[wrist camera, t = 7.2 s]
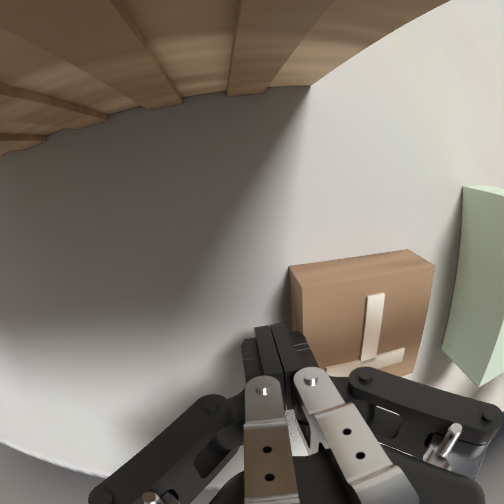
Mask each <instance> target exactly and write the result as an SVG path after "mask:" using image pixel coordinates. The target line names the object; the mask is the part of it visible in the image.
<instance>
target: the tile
mask: <svg viewBox="0 0 504 504" xmlns="http://www.w3.org/2000/svg"><path fill="white" fill-rule="evenodd" d="M434 267H435V265H433V264H432V263H430V262H428V261H427V260H425V259H423V258H422V257H420V256H418V255H417V254H415V253H413V252H412V251H410V250H408V249H406V250H399V251H393V252H386V253H379V254H372V255H366V256H359V257H352V258H345V259H338V260H330V261H323V262H316V263H308V264H301V265H294V266H289V277H290V298H291V324H292V331H299V332H300V333H302V334H303V335H304V336H305V338H306V340H307V342H308V344H309V346H310V349H311V351H312V353H313V355H314V357H315V359H316V362H317V364H318V366H319V368H320V369H323V370H324V371H325V372H326V373H327V374H328V375H329V376H334V377H349V374H350V373H351V371H353V370H354V369H356V368H358V367H364V366H368V367H373V368H376V369H379V370H381V371H384V372H387V373H390V374H393V375H396V376H399V377H401V376H404V375H407V374H410V373H412V372H413V369H414V365H415V362H416V358H417V354H418V350H419V347H420V342H421V338H422V334H423V330H424V325H425V320H426V315H427V310H428V305H429V300H430V294H431V288H432V281H433V275H434Z"/></svg>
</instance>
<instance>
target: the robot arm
mask: <svg viewBox="0 0 504 504" xmlns="http://www.w3.org/2000/svg"><path fill="white" fill-rule="evenodd" d="M254 332H255V338H250V339H245V340H244V342H243V344H242V346H241V348H242V356H243V363H244V370H245V378H246V386H245V388H244V389H243V391H242V392H241V393H239V394H238V395H236V396H234V397H231V398H229V399H226V398H225V397H223V396H221V395H216V394H211V395H206V396H203V397H201V398H199V399H198V400H197V401H196V402H195V403H194V404H193V405H192V406H190V407H189V408H188V409H187V410H186V411H185V412H184V413H183V414H182V415H181V416H180V417H178V418H177V419H176V420H175V421H174V422H173V423H172V424H171V425H170V426H169V427H167V428H166V429H165V430H164V431H163V432H162V433H161V434H159V435H158V436H157V437H156V438H155V439H154V440H153V441H151V442H150V443H149V444H148V445H147V446H146V447H144V448H143V449H142V450H141V451H140V452H139V453H137V454H136V455H135V456H134V457H133V458H131V459H130V460H129V461H128V462H127V463H125V464H124V465H123V466H122V467H120V468H119V469H118V470H117V471H116V472H114V473H113V474H112V475H111V476H109V477H108V478H107V479H105V480H104V481H103V482H102V483H100V484H99V485H98V486H96V487H95V488H94V489H93V490H92V492H91V493H90V495H89V498H88V503H89V504H190V503H191V502H192V501H193V500H194V499H195V498H196V496H198V494H199V493H200V492H201V491H202V490H203V489H204V488H205V487H206V486H207V485H208V484H209V483H210V482H211V481H212V480H213V479H214V477H215V476H216V475H217V474H218V473H219V472H220V471H221V470H222V469H223V467H224V466H225V465H226V464H227V463H228V462H229V461H230V459H231V458H232V457H233V456H234V455H235V454H236V452H237V451H238V450H239V447H240V446H241V445H244V471H242V472H240V473H238V474H237V475H235V476H234V477H232V478H231V479H230V480H229V481H228V482H227V483H226V484H225V485H224V486H223V487H222V488H221V490H220V491H219V492H218V493H217V495H216V496H215V497H214V498H213V499H212V501H211V502H210V503H209V504H485V495H484V492H483V489H482V488H481V486H480V485H479V484H478V483H477V482H476V481H475V479H476V476H477V474H478V471H479V468H480V465H481V463H482V460H483V457H484V454H485V450H486V447H487V445H488V444H489V443H490V441H491V440H492V438H493V437H494V435H495V434H496V432H497V431H498V429H499V428H500V426H501V425H502V423H503V413H502V411H501V410H500V409H499V408H498V407H497V406H495V405H493V404H489V403H485V402H482V401H478V400H474V399H471V398H467V397H463V396H460V395H456V394H453V393H450V392H446V391H443V390H440V389H436V388H433V387H430V386H427V385H423V384H420V383H417V382H414V381H411V380H408V379H405V378H402V377H399V376H396V375H393V374H390V373H387V372H384V371H381V370H379V369H376V368H373V367H368V366H364V367H358V368H356V369H354V370H353V371H351V373H350V374H349V377H334V376H329V375H328V374H327V373H326V372H325V371H324V370H323V369H320V368H319V366H318V364H317V362H316V359H315V357H314V355H313V353H312V351H311V349H310V346H309V344H308V342H307V340H306V338H305V336H304V335H303V334H302V333H300V332H299V331H292V332H289V331H288V328H287V326H286V323H285V322H284V323H278V324H273V325H270V326H269V325H267V326H260V327H254ZM286 406H287V410H290V409H294V413H295V422H296V425H297V428H298V430H299V433H300V435H301V437H302V440H303V442H304V445H305V447H306V449H307V452H308V455H309V456H292V451H291V445H290V438H289V432H288V426H287V420H286V419H285V412H284V411H285V410H286ZM376 406H379V407H382V408H385V409H387V410H390V411H393V412H395V413H398V414H399V415H400V416H399V415H397V414H394V413H391V412H389V411H386V410H383V409H381V408H378V407H376ZM379 442H380V443H382V444H385V445H382V444H379ZM386 445H387V446H386ZM389 446H390V447H389ZM391 447H392V448H391ZM393 448H395V449H393ZM396 449H397V450H396ZM398 450H400V451H403V452H405V453H408V454H411V455H413V456H416V457H419V458H422V459H423V460H424V461H423V460H420V459H417V458H415V457H412V456H410V455H408V454H405V453H403V452H400V451H398Z"/></svg>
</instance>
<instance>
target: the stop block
mask: <svg viewBox="0 0 504 504" xmlns="http://www.w3.org/2000/svg"><path fill="white" fill-rule="evenodd" d="M441 350H442V351H443V352H444V353H445V354H446V355H447V356H448V357H449V358H450V359H451V360H452V361H453V362H454V363H455V364H456V365H457V366H458V367H459V368H460V369H461V370H462V371H463V372H464V373H465V374H466V375H467V376H468V377H469V379H470V380H471V381H472V382H473V383H474V384H475V385H476V386H477V387H478V388H479V387H481V386H482V385H484V384H486V383H487V382H489V381H491V380H492V379H494V378H495V377H497V376H498V375H500V374H501V373H503V372H504V188H500V187H495V186H491V185H480V186H463V204H462V225H461V239H460V249H459V258H458V266H457V274H456V281H455V287H454V293H453V298H452V304H451V309H450V314H449V319H448V323H447V327H446V332H445V336H444V340H443V344H442V348H441Z"/></svg>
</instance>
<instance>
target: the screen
mask: <svg viewBox="0 0 504 504" xmlns="http://www.w3.org/2000/svg"><path fill="white" fill-rule="evenodd" d="M448 1H450V0H0V155H2V154H4V153H6V152H9V151H14V150H25V149H28V148H30V147H33V146H35V145H38V144H40V143H43V142H45V141H47V140H46V135H48V134H51V133H53V132H56V131H59V130H62V129H64V128H72V129H78V130H79V129H82V128H85V127H88V126H91V125H95V124H98V123H101V122H105V121H108V118H107V115H108V114H111V113H115V112H119V111H122V110H126V109H130V108H134V107H138V106H142V107H143V108H145V109H147V110H152V109H157V108H162V107H167V106H172V105H177V104H183V102H182V97H187V96H193V95H199V94H206V93H213V92H220V91H227V96H228V97H230V96H239V95H249V94H261V93H264V92H265V90H266V89H267V87H275V86H300V85H313V84H314V83H315V82H317V81H318V80H319V79H321V78H322V77H324V76H325V75H326V74H328V73H329V72H331V71H332V70H334V69H335V68H337V67H338V66H339V65H341V64H342V63H344V62H345V61H347V60H348V59H350V58H351V57H353V56H354V55H356V54H357V53H359V52H360V51H362V50H364V49H365V48H367V47H368V46H370V45H371V44H373V43H375V42H376V41H378V40H379V39H381V38H383V37H384V36H386V35H388V34H389V33H391V32H393V31H394V30H396V29H398V28H399V27H401V26H403V25H405V24H406V23H408V22H410V21H412V20H414V19H415V18H417V17H419V16H421V15H423V14H425V13H426V12H428V11H430V10H432V9H434V8H436V7H438V6H440V5H442V4H444V3H446V2H448Z"/></svg>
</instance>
